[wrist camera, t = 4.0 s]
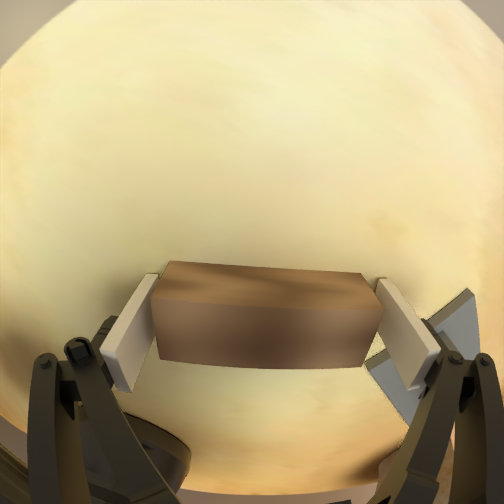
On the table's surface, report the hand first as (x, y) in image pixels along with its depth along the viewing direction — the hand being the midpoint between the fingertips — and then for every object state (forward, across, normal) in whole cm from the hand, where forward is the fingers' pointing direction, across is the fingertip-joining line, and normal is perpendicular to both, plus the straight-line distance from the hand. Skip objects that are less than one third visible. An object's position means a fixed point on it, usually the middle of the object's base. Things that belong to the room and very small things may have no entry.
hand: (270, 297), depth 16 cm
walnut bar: (0, 0, 0) cm, 0 cm away
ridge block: (0, +16, -9) cm, 19 cm away
